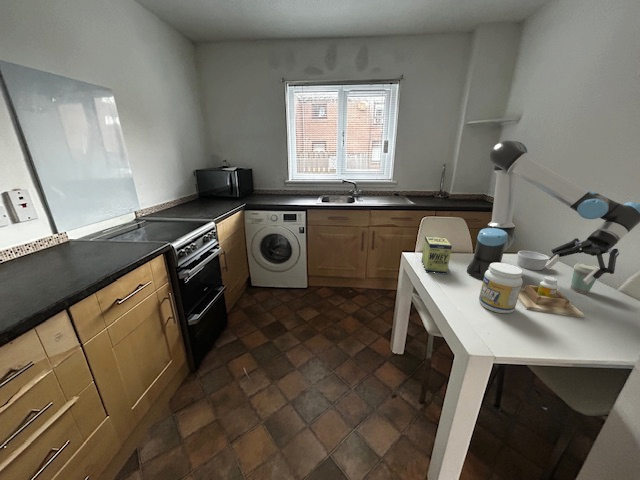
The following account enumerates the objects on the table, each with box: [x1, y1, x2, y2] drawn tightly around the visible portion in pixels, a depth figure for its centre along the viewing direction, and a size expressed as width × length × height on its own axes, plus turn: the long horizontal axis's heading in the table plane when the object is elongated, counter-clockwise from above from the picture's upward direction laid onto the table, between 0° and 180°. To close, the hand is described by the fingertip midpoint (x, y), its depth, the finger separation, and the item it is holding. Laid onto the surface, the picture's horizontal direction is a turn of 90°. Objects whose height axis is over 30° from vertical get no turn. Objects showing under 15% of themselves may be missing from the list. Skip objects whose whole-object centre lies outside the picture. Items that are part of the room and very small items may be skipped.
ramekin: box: [516, 250, 550, 271], centre depth 138 cm, size 13×13×7 cm
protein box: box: [421, 235, 453, 275], centre depth 134 cm, size 10×16×16 cm
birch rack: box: [517, 284, 585, 318], centre depth 103 cm, size 18×16×5 cm
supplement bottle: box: [537, 275, 558, 297], centre depth 102 cm, size 5×5×10 cm
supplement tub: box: [478, 262, 524, 314], centre depth 99 cm, size 12×12×17 cm
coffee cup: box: [570, 262, 600, 295], centre depth 112 cm, size 8×8×12 cm
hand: (564, 274), depth 100 cm, fingers open, 13 cm apart
